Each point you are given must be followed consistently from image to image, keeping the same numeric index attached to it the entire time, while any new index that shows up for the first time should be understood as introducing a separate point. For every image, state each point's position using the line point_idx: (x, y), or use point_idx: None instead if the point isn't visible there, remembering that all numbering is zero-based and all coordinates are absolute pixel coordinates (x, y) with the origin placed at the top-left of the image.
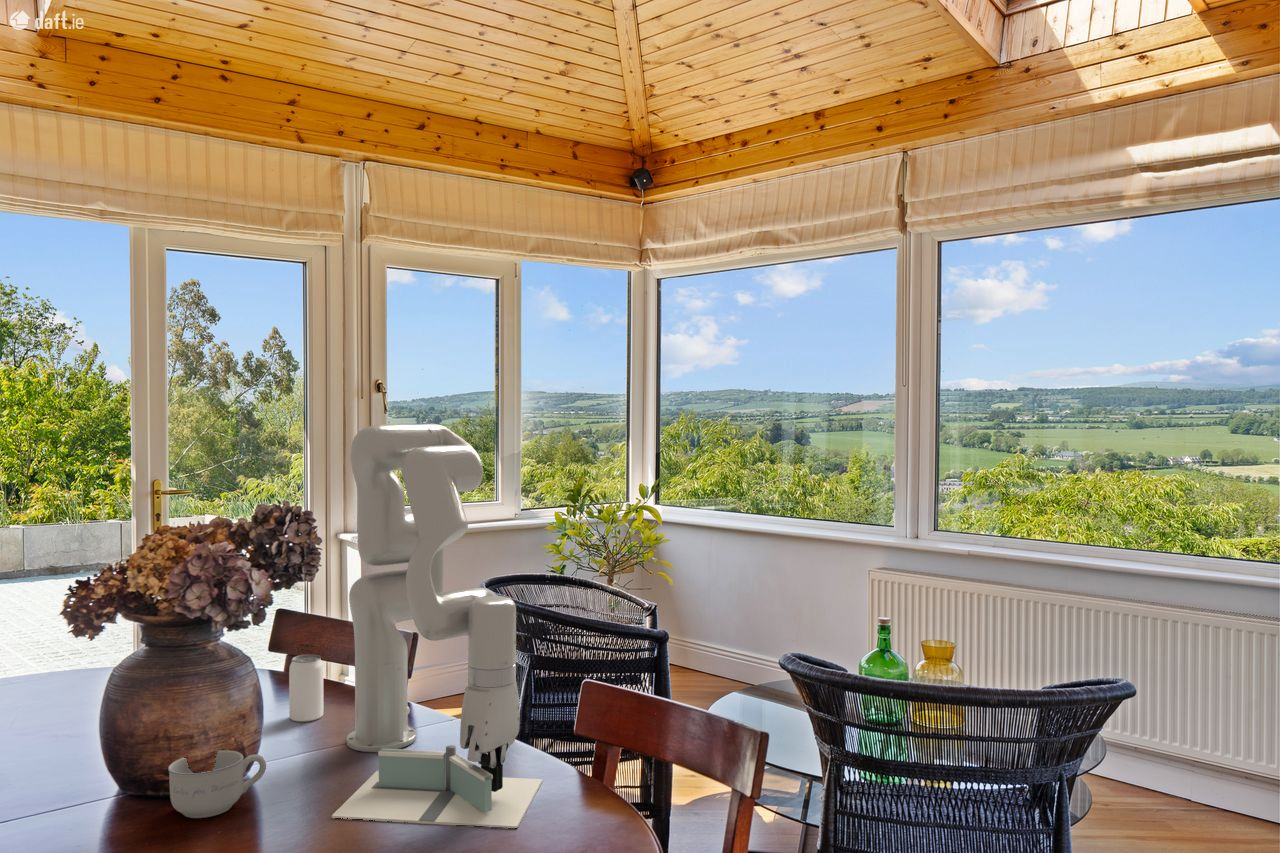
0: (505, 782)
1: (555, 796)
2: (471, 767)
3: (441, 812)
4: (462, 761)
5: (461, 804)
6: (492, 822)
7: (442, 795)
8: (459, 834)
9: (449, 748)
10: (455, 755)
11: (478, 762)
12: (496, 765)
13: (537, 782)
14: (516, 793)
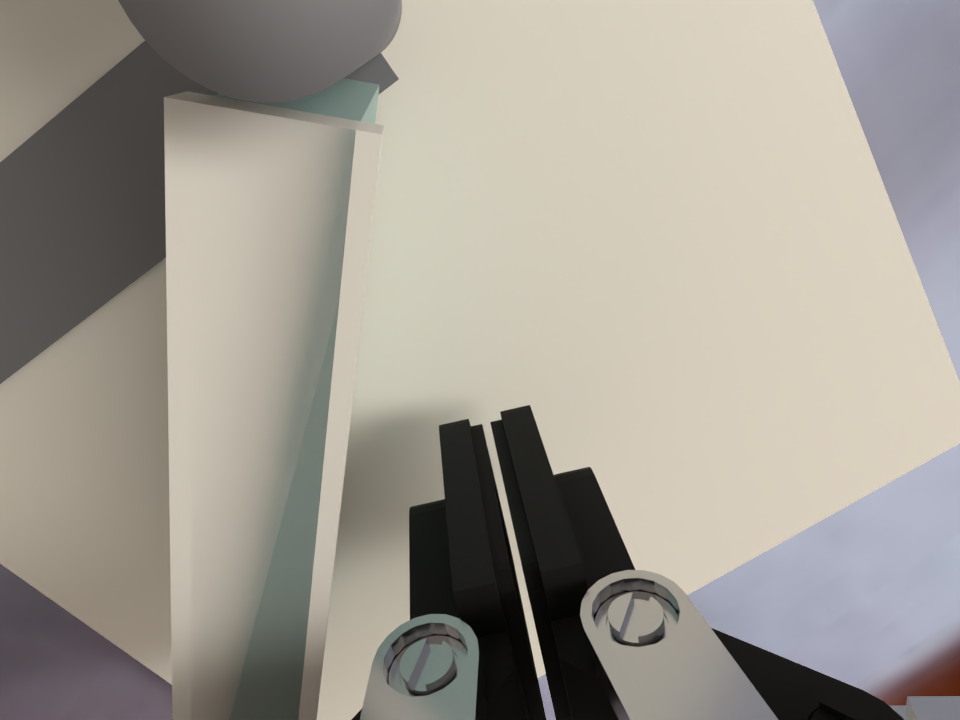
0: (792, 277)
1: (795, 624)
2: (222, 694)
3: (4, 381)
4: (242, 463)
5: None
6: None
7: (179, 88)
8: (2, 664)
9: (155, 25)
10: (307, 138)
11: (371, 677)
12: (558, 703)
13: (909, 450)
14: (667, 492)
